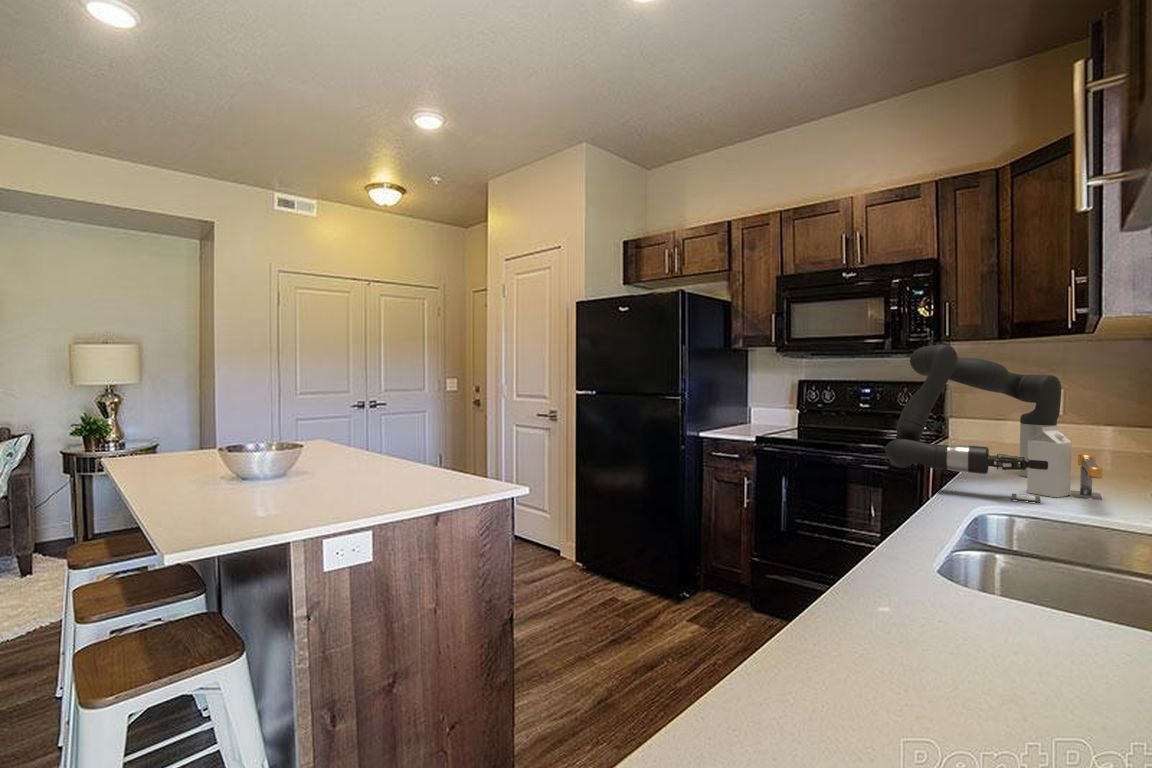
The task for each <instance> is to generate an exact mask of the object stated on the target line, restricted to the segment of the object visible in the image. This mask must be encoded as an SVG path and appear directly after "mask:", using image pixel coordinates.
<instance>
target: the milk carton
mask: <svg viewBox="0 0 1152 768" xmlns="http://www.w3.org/2000/svg"><path fill="white" fill-rule="evenodd" d="M1028 459H1029V461H1030V460H1042V461H1047V462H1048V469H1047V470H1042V469H1030V467H1029V469H1027V477H1026V478H1027V479H1026V493H1027V492H1028V493H1027V494H1032V495H1037V496H1044V497H1045V496H1046V497H1051V498H1056V497H1057V498H1061V497H1067V496H1068V495H1069V496H1071V484H1072V483H1071V481H1072V480H1071V479H1072V475H1071V473H1072V441H1071V440H1070V439H1069V438H1067V437H1066V435H1064V434H1063V433H1062V432H1061V431H1059V430H1058V425H1057V426H1055V427H1043V428H1042V432H1041V433H1039V434H1037V435H1036V436H1034V437H1033V438H1031V439H1030V440H1028Z"/></svg>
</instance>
